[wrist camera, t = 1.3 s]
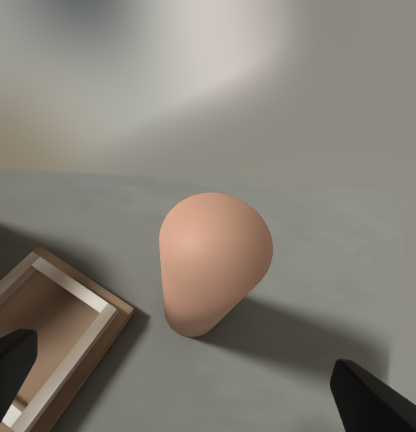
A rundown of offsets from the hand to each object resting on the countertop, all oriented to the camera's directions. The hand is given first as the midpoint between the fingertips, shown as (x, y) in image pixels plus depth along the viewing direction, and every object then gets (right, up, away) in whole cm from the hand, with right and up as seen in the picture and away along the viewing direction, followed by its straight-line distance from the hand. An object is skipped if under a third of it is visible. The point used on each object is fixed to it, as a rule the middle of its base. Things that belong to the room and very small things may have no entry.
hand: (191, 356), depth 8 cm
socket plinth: (-12, -4, +11) cm, 17 cm away
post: (-1, -3, +14) cm, 14 cm away
